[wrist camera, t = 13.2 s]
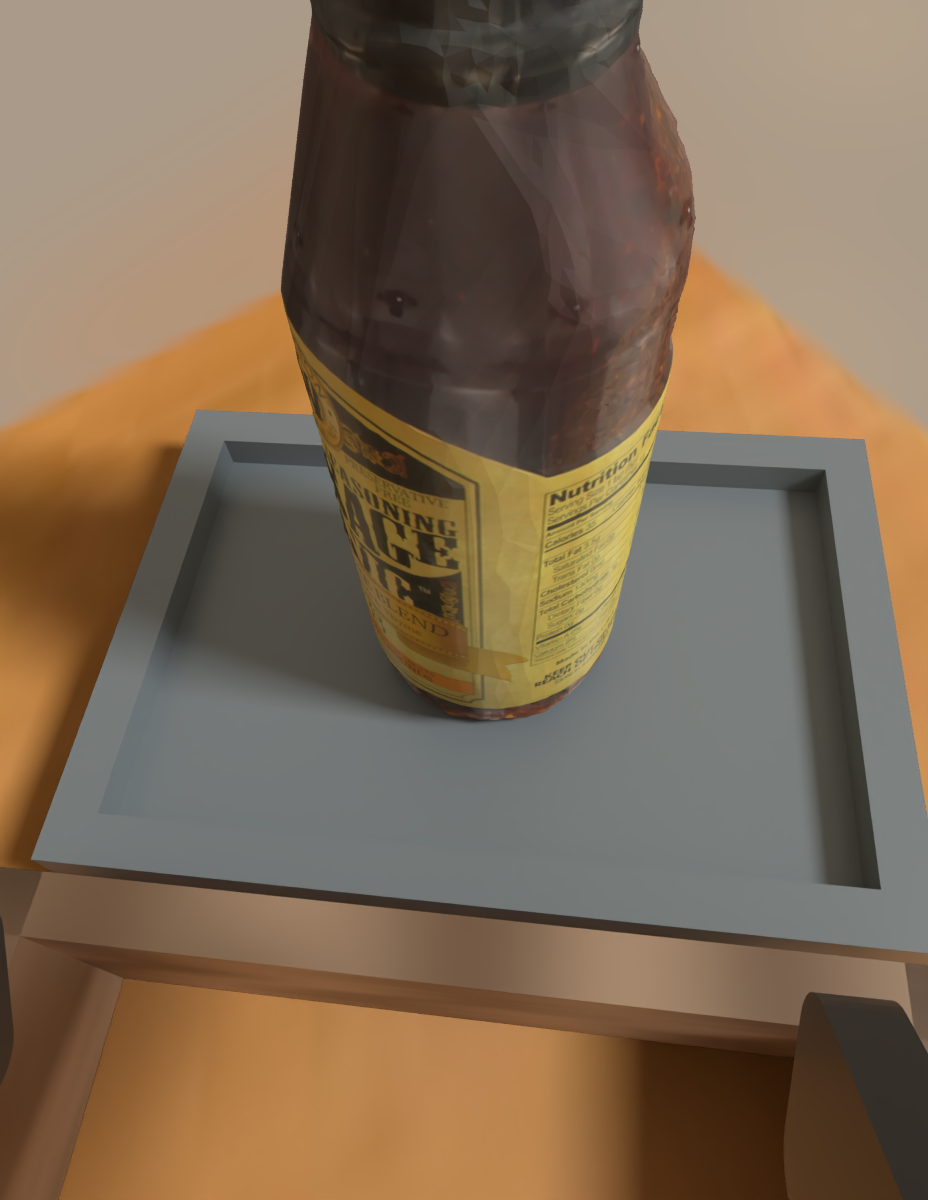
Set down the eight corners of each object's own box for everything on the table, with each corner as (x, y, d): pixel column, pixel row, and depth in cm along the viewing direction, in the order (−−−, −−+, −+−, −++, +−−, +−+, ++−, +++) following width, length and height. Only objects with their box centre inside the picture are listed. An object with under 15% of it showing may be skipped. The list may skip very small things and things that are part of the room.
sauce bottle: (349, 584, 25) (-34, -621, 8) (549, 507, 26) (595, -708, 9) (436, 787, 21) (98, -539, 4) (661, 691, 22) (1082, -691, 5)
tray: (72, 883, 22) (30, 859, 20) (217, 456, 29) (196, 409, 27) (909, 973, 20) (950, 955, 18) (840, 488, 27) (864, 439, 25)
